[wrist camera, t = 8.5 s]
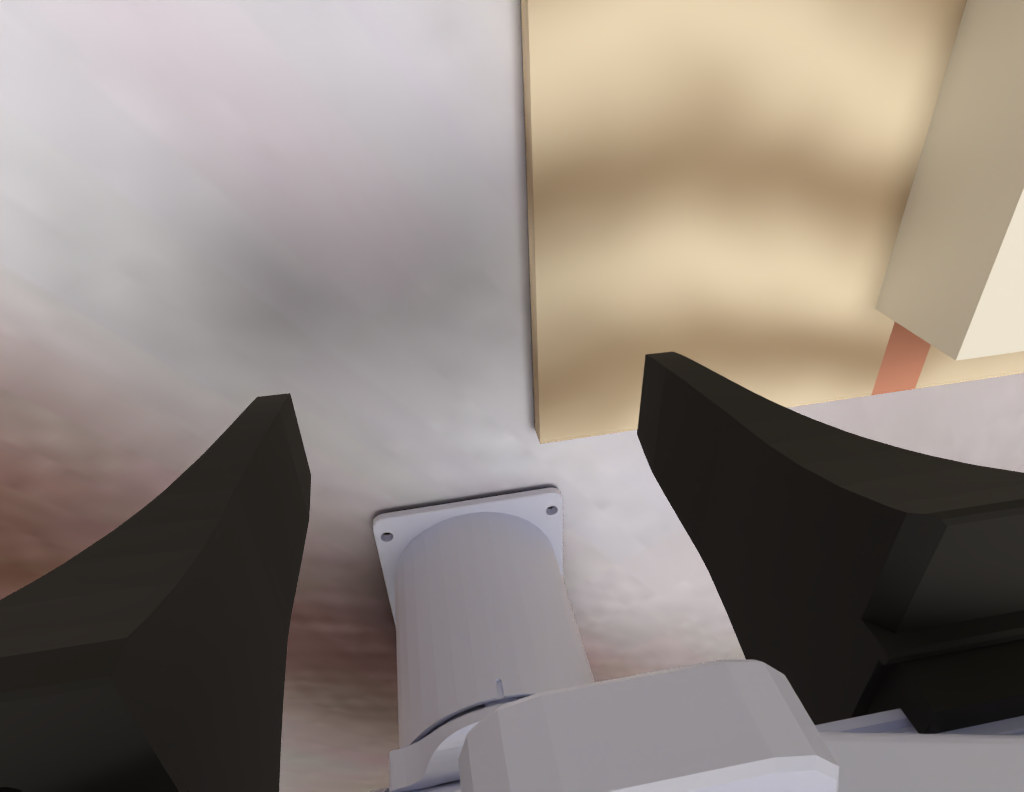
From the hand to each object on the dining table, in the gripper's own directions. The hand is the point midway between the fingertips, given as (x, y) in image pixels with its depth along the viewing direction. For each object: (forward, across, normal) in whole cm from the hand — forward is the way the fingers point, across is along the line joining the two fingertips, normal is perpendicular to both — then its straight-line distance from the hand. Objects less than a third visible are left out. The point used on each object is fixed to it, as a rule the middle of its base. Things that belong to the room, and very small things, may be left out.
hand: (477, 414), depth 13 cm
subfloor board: (+9, -14, -2) cm, 17 cm away
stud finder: (+8, -18, -2) cm, 20 cm away
